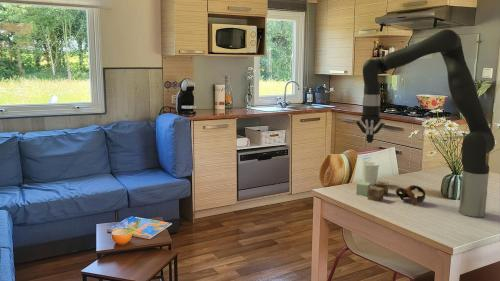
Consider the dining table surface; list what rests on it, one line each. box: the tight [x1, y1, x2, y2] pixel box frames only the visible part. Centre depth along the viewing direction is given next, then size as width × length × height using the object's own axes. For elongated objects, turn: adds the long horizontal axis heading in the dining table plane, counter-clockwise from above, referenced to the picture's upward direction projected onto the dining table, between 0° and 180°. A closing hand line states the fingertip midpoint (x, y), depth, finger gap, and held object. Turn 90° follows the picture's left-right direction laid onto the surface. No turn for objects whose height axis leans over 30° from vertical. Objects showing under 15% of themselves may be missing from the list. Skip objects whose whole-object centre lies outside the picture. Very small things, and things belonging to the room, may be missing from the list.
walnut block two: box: [367, 185, 385, 202], centre depth 195 cm, size 5×5×5 cm
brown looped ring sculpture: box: [395, 184, 426, 206], centre depth 191 cm, size 12×10×8 cm
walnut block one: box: [375, 180, 389, 197], centre depth 203 cm, size 5×5×5 cm
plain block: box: [355, 181, 372, 197], centre depth 203 cm, size 5×5×5 cm
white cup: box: [361, 161, 380, 186], centre depth 220 cm, size 8×8×10 cm
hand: (369, 142), depth 202 cm, fingers closed
